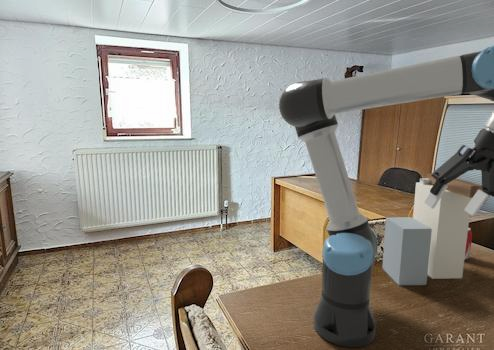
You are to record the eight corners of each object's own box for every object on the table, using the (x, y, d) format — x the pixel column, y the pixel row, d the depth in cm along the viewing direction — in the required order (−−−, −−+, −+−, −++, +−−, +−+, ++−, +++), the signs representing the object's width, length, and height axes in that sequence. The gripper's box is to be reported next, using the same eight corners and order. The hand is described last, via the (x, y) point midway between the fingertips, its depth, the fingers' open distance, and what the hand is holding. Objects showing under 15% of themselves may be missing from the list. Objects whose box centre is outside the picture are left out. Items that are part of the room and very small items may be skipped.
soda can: (473, 261, 119) (477, 230, 117) (454, 261, 119) (458, 230, 117) (461, 253, 126) (464, 224, 124) (443, 253, 126) (446, 224, 124)
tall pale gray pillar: (398, 285, 102) (403, 229, 98) (382, 268, 113) (385, 217, 110) (426, 284, 102) (431, 228, 99) (407, 267, 114) (411, 217, 110)
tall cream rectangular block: (432, 278, 106) (441, 191, 101) (409, 259, 121) (415, 182, 116) (462, 278, 106) (472, 191, 101) (435, 259, 121) (442, 182, 116)
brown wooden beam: (461, 197, 92) (462, 186, 92) (419, 183, 114) (420, 173, 114) (491, 197, 93) (492, 185, 92) (444, 183, 114) (445, 173, 114)
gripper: (473, 127, 66) (420, 210, 74) (553, 151, 73) (496, 224, 81) (447, 116, 72) (401, 194, 81) (523, 138, 79) (473, 208, 88)
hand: (449, 209), depth 81 cm, fingers open, 13 cm apart
